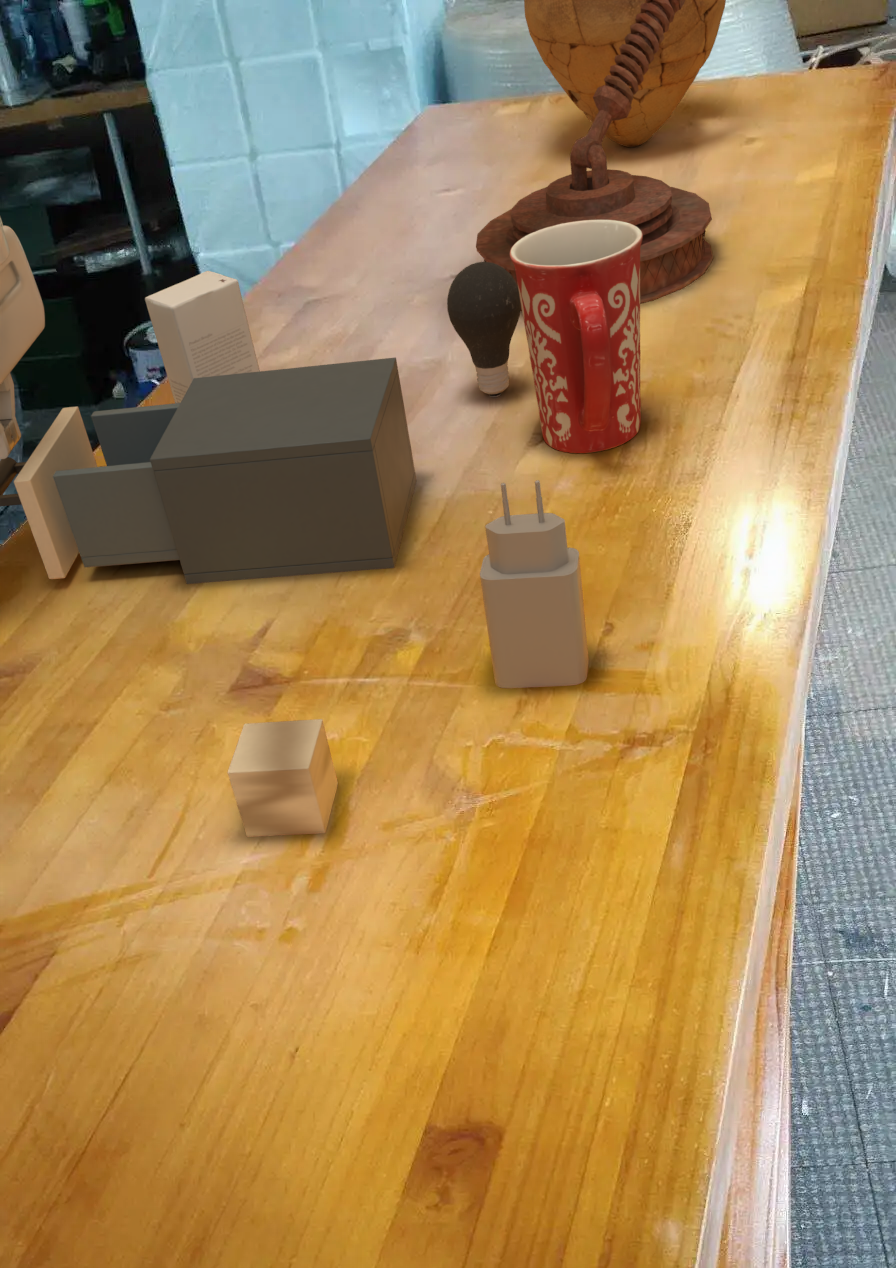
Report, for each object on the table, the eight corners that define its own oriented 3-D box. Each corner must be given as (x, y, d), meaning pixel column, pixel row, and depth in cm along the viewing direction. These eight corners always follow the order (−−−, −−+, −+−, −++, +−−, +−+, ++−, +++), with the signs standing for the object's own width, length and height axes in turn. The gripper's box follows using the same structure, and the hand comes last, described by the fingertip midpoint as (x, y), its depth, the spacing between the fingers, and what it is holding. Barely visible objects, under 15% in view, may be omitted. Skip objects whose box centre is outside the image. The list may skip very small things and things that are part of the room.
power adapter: (586, 685, 85) (568, 492, 77) (493, 689, 86) (466, 499, 78) (589, 656, 87) (572, 464, 79) (499, 660, 88) (473, 472, 80)
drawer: (-17, 585, 103) (-56, 487, 98) (32, 507, 111) (-1, 413, 106) (234, 564, 100) (207, 463, 95) (266, 486, 108) (243, 389, 103)
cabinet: (186, 585, 101) (149, 459, 94) (225, 498, 109) (193, 378, 103) (394, 568, 98) (370, 438, 92) (416, 481, 107) (396, 357, 101)
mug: (526, 415, 112) (506, 229, 103) (644, 398, 112) (635, 209, 102) (536, 490, 103) (514, 294, 94) (664, 472, 102) (656, 272, 93)
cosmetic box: (246, 421, 119) (209, 268, 111) (276, 434, 117) (240, 278, 108) (184, 450, 117) (142, 296, 109) (213, 463, 114) (172, 307, 106)
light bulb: (450, 411, 115) (431, 279, 108) (472, 380, 119) (455, 251, 112) (519, 411, 113) (503, 277, 106) (539, 380, 117) (525, 248, 110)
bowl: (520, 140, 165) (499, -73, 151) (694, 103, 165) (689, -112, 152) (564, 192, 149) (545, -40, 136) (756, 151, 150) (756, -83, 136)
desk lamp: (374, 318, 132) (274, -252, 104) (620, 202, 145) (589, -332, 117) (536, 365, 119) (471, -270, 92) (790, 233, 132) (799, -357, 105)
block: (246, 837, 79) (226, 772, 76) (262, 787, 82) (243, 723, 79) (325, 834, 78) (308, 768, 75) (338, 783, 81) (322, 718, 78)
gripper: (-57, 191, 100) (9, 390, 109) (-179, 304, 85) (-91, 522, 95) (30, 182, 99) (89, 384, 108) (-79, 294, 84) (0, 516, 94)
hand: (4, 450), depth 102 cm, fingers closed
